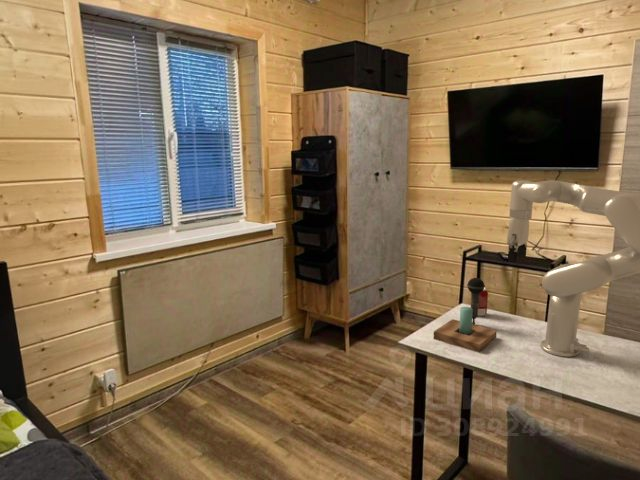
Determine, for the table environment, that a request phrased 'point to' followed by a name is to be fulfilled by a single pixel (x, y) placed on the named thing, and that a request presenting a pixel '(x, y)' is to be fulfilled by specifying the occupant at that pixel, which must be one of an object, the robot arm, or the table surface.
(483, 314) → the soda can
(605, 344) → the table surface
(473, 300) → the microphone
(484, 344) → the socket board
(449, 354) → the table surface
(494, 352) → the table surface
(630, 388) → the table surface
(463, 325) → the peg
